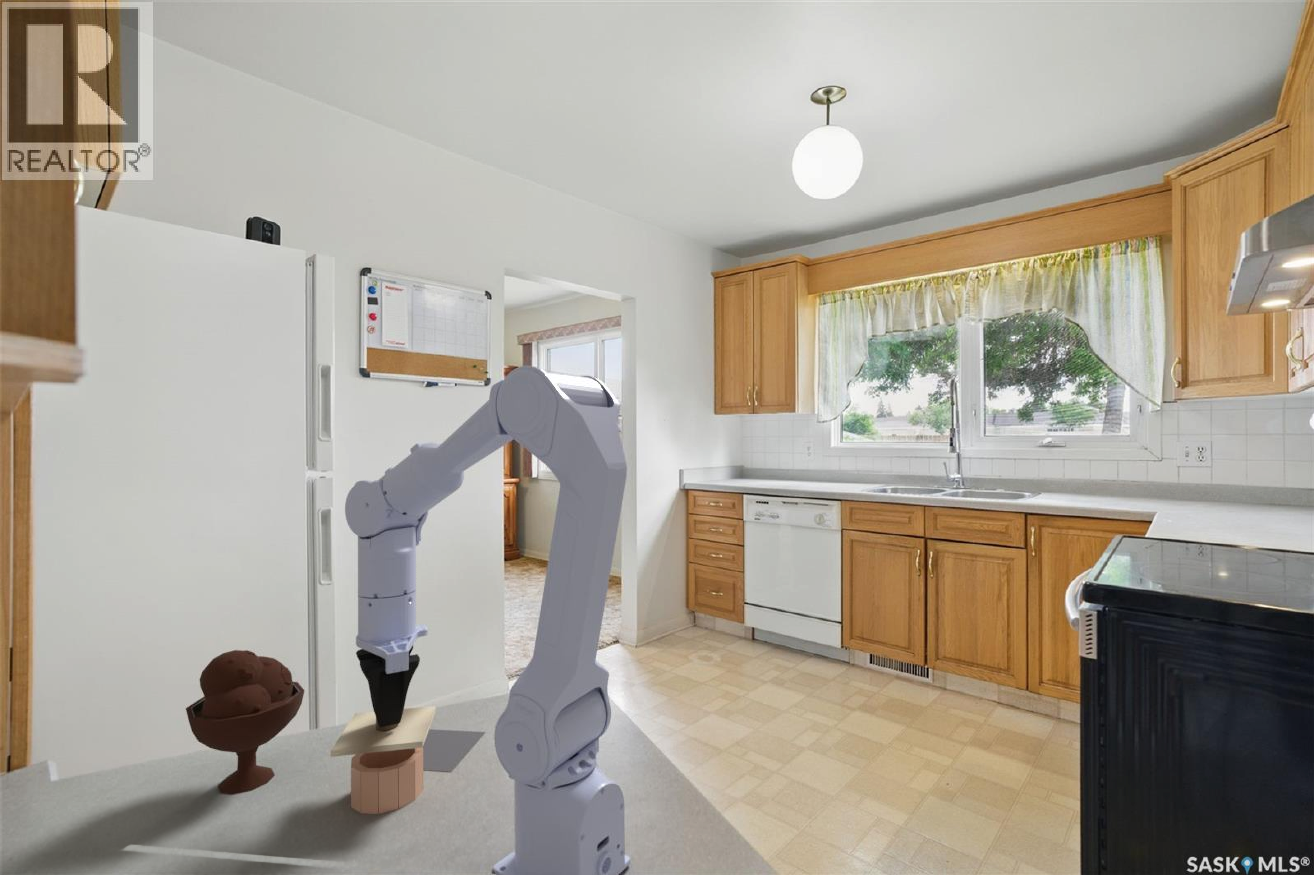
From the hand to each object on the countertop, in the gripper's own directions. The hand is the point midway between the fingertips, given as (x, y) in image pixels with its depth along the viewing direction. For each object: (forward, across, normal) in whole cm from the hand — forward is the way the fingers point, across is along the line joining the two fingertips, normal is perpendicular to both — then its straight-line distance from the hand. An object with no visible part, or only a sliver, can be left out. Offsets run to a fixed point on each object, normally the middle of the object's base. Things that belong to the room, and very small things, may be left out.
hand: (387, 719), depth 65 cm
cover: (+1, 0, 0) cm, 1 cm away
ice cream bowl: (+8, +11, +13) cm, 19 cm away
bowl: (+8, 0, 0) cm, 8 cm away
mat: (+8, +8, -6) cm, 13 cm away
